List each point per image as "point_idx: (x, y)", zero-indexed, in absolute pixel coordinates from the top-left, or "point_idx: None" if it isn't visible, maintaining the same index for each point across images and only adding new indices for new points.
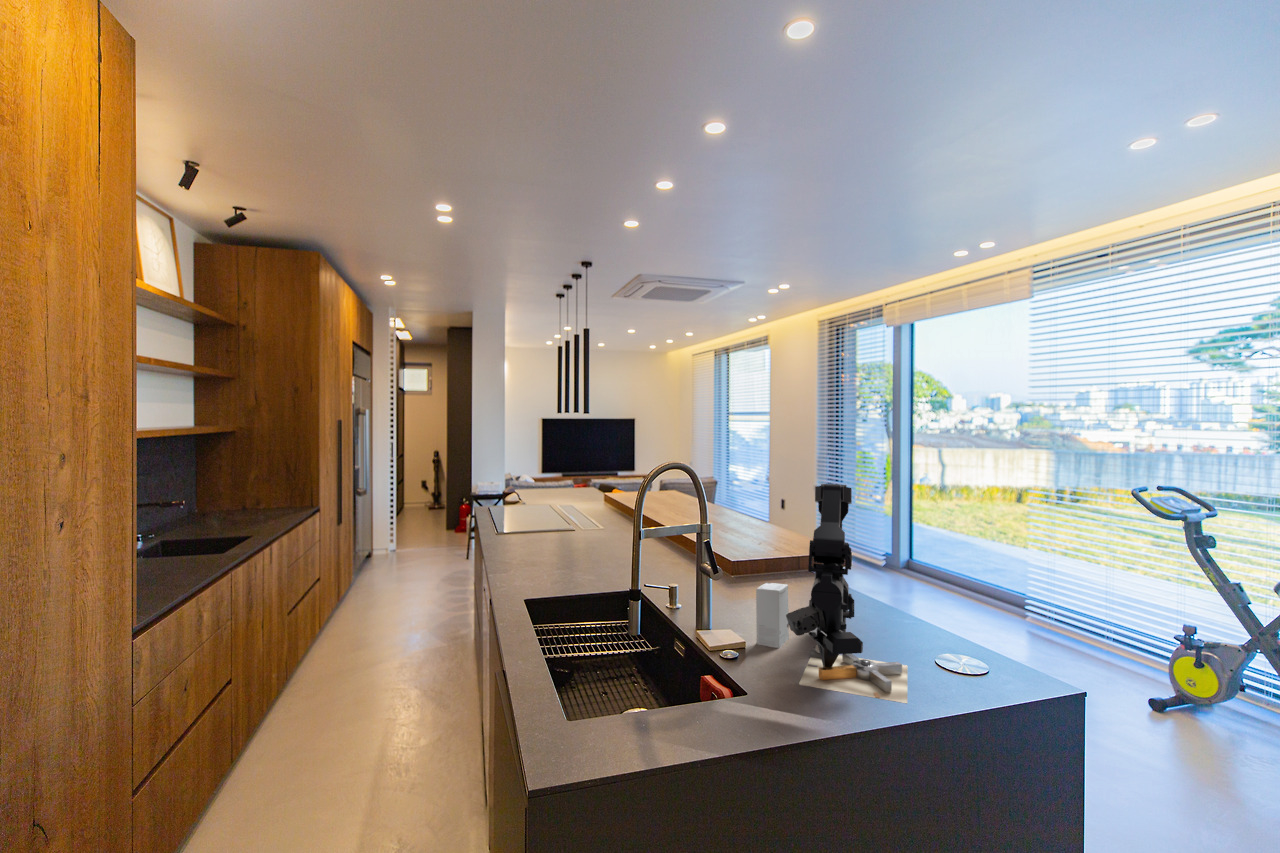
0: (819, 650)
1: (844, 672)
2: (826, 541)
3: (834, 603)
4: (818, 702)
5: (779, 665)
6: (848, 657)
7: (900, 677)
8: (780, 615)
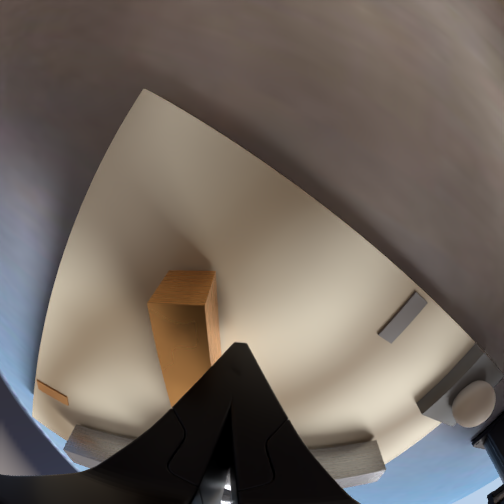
0: (289, 440)
1: None
2: None
3: None
4: (47, 162)
5: (496, 175)
6: (333, 474)
7: None
8: None
